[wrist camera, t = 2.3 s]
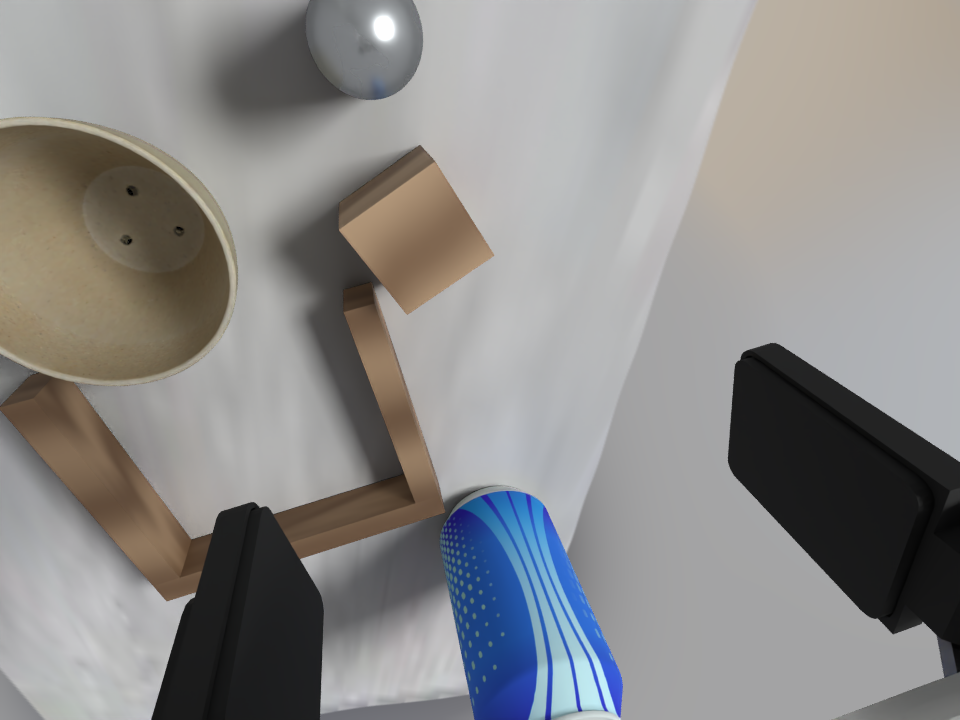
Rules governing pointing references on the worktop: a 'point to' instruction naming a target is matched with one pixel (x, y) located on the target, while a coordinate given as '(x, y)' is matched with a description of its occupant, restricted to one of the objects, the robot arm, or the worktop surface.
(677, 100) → the worktop surface
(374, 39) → the grey metal cylinder
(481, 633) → the beer can
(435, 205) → the walnut block
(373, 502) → the bay
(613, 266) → the worktop surface
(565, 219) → the worktop surface
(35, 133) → the flower pot
